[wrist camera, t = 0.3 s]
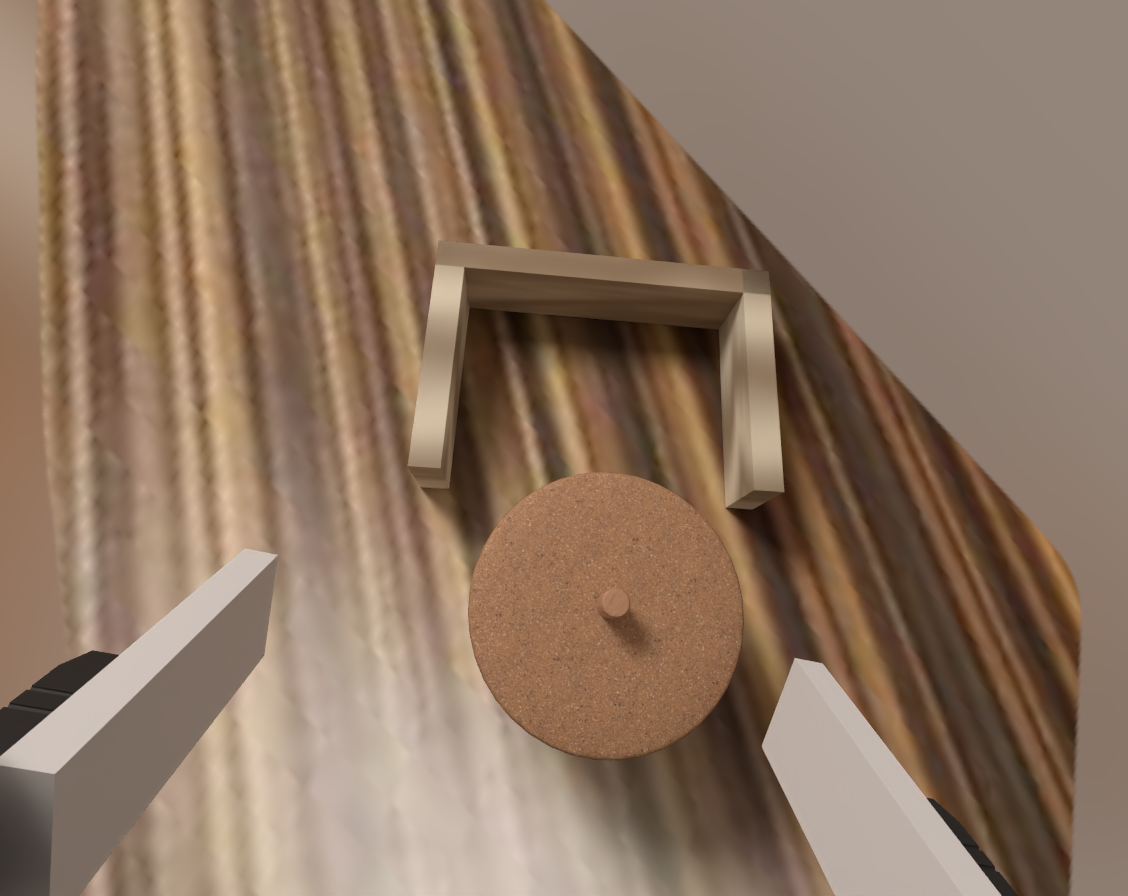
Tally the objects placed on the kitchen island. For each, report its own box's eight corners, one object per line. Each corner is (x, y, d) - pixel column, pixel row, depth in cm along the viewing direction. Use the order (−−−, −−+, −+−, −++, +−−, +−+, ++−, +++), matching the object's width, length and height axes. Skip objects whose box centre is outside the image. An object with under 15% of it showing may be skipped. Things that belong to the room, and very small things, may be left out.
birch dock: (752, 509, 32) (784, 492, 29) (420, 487, 31) (407, 466, 27) (741, 310, 36) (768, 271, 32) (446, 283, 35) (438, 240, 31)
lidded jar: (725, 584, 31) (811, 562, 22) (618, 778, 28) (668, 843, 19) (556, 472, 32) (573, 407, 23) (434, 645, 29) (400, 647, 20)
